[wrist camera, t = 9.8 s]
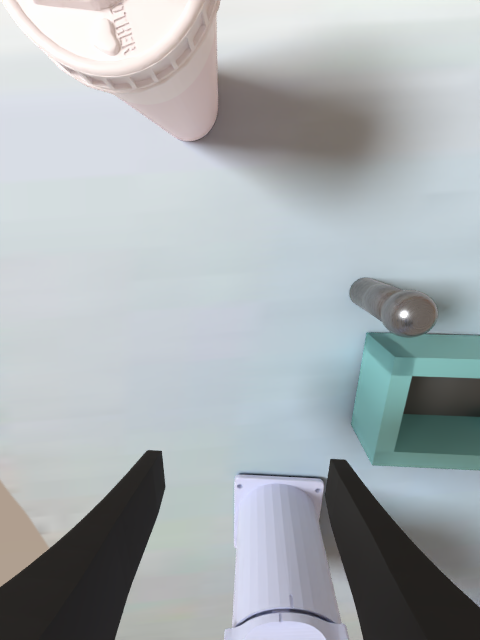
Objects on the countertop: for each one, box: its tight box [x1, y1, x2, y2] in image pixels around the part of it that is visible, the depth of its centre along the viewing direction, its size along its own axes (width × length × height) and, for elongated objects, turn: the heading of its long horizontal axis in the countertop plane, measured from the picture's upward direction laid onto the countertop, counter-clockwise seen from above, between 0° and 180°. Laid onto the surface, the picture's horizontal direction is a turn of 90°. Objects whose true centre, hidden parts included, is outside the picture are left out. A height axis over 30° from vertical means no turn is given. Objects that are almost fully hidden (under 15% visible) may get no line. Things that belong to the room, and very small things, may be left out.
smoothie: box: [1, 0, 220, 141], centre depth 9 cm, size 6×6×14 cm
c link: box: [351, 333, 480, 470], centre depth 18 cm, size 8×11×4 cm
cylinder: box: [349, 278, 438, 338], centre depth 15 cm, size 2×2×7 cm
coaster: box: [403, 334, 480, 417], centre depth 20 cm, size 10×10×1 cm
